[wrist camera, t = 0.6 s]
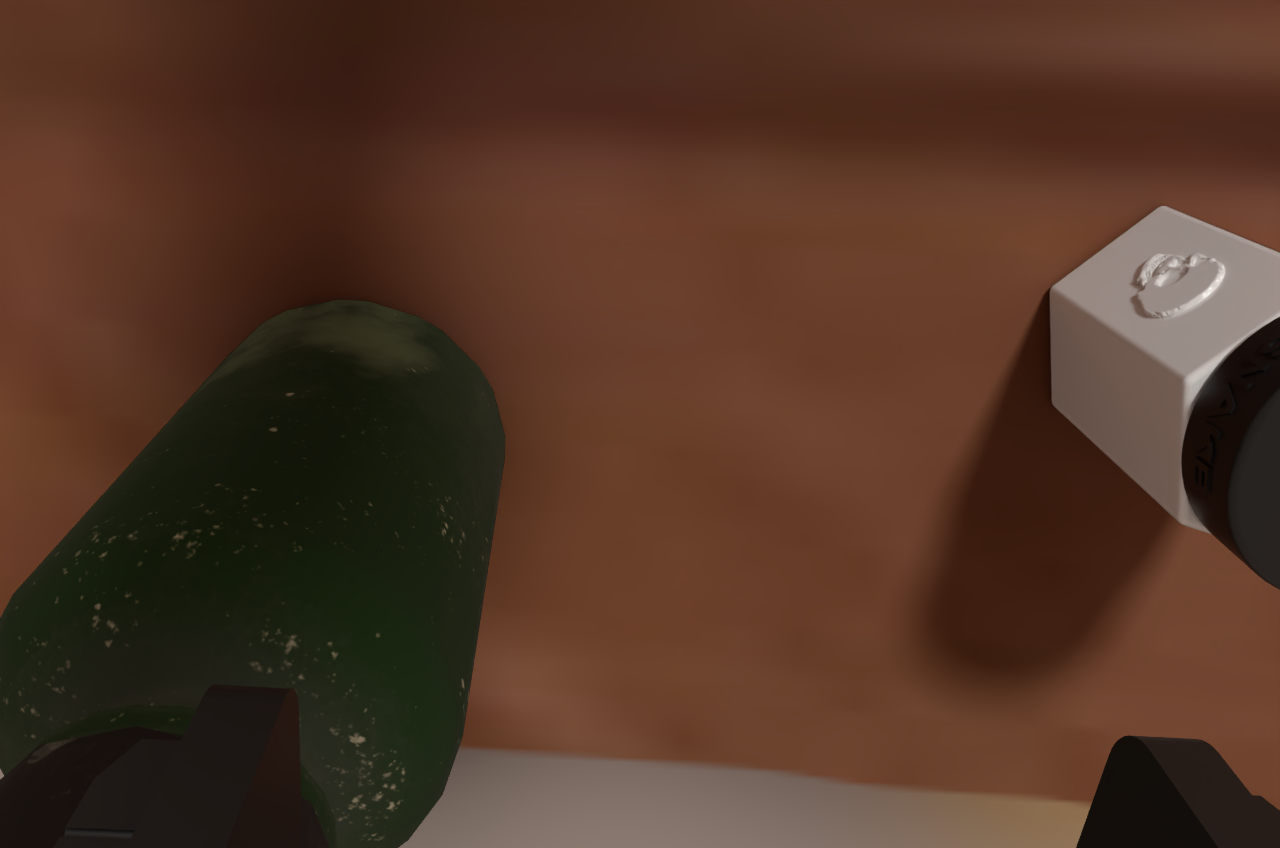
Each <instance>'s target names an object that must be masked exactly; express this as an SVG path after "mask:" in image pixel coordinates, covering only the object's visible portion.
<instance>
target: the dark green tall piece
mask: <svg viewBox="0 0 1280 848" xmlns="http://www.w3.org/2000/svg"><path fill="white" fill-rule="evenodd" d="M504 460H505V433H504V429H503V426H502V422H501V418H500V415H499V411H498V407H497V403H496V400H495V396H494V392H493V389H492V388H491V386H490V384H489V382H488V381H487V379H486V377H485V376H484V374H483V372H482V371H481V369H480V367H479V366H478V365H477V364H476V363H475V362H474V361H473V360H472V359H470V358H469V357H468V356H467V355H466V354H465V353H464V352H463V351H462V350H461V349H460V348H459V347H458V346H457V345H456V344H455V343H454V342H453V341H452V340H451V339H450V338H449V337H448V336H447V335H446V334H445V333H444V332H443V331H442V330H440V329H438V328H437V327H435V326H433V325H432V324H430V323H428V322H427V321H425V320H423V319H422V318H420V317H418V316H414V315H411V314H408V313H404V312H401V311H398V310H395V309H391V308H388V307H385V306H381V305H378V304H375V303H372V302H368V301H356V300H334V301H330V302H325V303H320V304H315V305H310V306H305V307H300V308H295V309H290V310H286V311H284V312H282V313H280V314H278V315H277V316H275V317H273V318H271V319H269V320H267V321H265V322H263V323H262V324H261V325H260V326H259V327H258V328H257V329H256V330H255V331H254V332H252V333H251V334H250V335H249V336H248V337H247V338H246V339H245V340H244V341H243V342H242V343H241V344H240V345H239V346H238V347H237V348H236V349H234V350H233V351H232V352H231V353H230V354H229V355H228V356H227V357H226V358H225V360H224V361H223V362H222V363H221V364H220V365H219V366H218V367H217V368H216V370H215V371H214V372H213V373H212V374H211V375H210V376H209V377H208V378H207V379H206V381H205V382H204V383H203V384H202V385H201V386H200V387H199V388H198V389H197V391H196V392H195V393H194V394H193V395H192V396H191V397H190V398H189V399H188V401H187V402H186V403H185V404H184V405H183V406H182V407H181V408H180V409H179V411H178V412H177V413H176V414H175V415H174V416H173V417H172V418H171V419H170V421H169V422H168V423H167V424H166V425H165V426H164V427H163V428H162V429H161V431H160V432H159V433H158V434H157V435H156V436H155V437H154V438H153V439H152V441H151V442H150V443H149V444H148V445H147V446H146V447H145V448H144V449H143V451H142V452H141V453H140V454H139V455H138V456H137V457H136V458H135V459H134V461H133V462H132V463H131V464H130V465H129V466H128V467H127V468H126V469H125V471H124V472H123V473H122V474H121V475H120V476H119V477H118V478H117V479H116V481H115V482H114V483H113V484H112V485H111V486H110V487H109V488H108V489H107V491H106V492H105V493H104V494H103V495H102V496H101V497H100V498H99V499H98V501H97V502H96V503H95V504H94V505H93V506H92V507H91V508H90V509H89V511H88V512H87V513H86V514H85V515H84V516H83V517H82V518H81V519H80V521H79V522H78V523H77V524H76V525H75V526H74V527H73V528H72V529H71V530H70V532H69V533H68V534H67V535H66V536H65V537H64V538H63V539H62V540H61V542H60V543H59V544H58V545H57V546H56V547H55V548H54V549H53V550H52V552H51V553H50V554H49V555H48V556H47V557H46V558H45V559H44V560H43V562H42V563H41V564H40V565H39V566H38V567H37V568H36V569H35V570H34V572H33V573H32V574H31V575H30V576H29V577H28V578H27V579H26V580H25V582H24V583H23V584H22V585H21V586H20V587H19V588H18V589H17V590H16V592H15V593H14V594H13V595H12V597H11V599H10V601H9V603H8V605H7V607H6V609H5V610H4V612H3V614H2V616H1V618H0V769H1V770H2V772H3V774H4V777H3V778H2V779H1V780H0V848H53V847H54V846H55V844H56V842H57V841H58V839H59V837H64V834H65V827H66V825H67V824H68V822H69V820H70V819H71V817H72V815H73V813H74V812H75V810H76V808H77V807H78V805H79V803H80V801H81V800H82V798H83V796H84V795H85V793H86V791H87V790H88V788H89V786H90V784H91V783H92V781H93V779H94V778H95V777H97V776H98V775H99V774H100V773H101V772H103V771H104V770H105V769H106V768H107V767H109V766H110V765H111V764H112V763H113V762H115V761H116V760H117V759H118V758H119V757H121V756H122V755H123V754H124V753H125V752H127V751H128V750H129V749H130V748H131V747H133V746H134V745H135V744H136V743H137V742H139V741H140V740H141V739H158V740H179V741H181V739H182V737H183V735H184V733H185V731H186V729H187V727H188V725H189V723H190V721H191V719H192V717H193V715H194V713H195V711H196V709H197V707H198V705H199V703H200V701H201V699H202V697H203V696H204V694H205V692H206V691H207V689H208V688H209V687H210V686H212V685H234V686H252V687H271V688H290V689H294V690H295V691H296V693H297V697H298V705H299V736H300V772H301V808H302V818H301V833H300V842H299V848H398V847H400V846H401V845H402V844H403V843H405V842H406V841H408V840H409V838H410V837H411V836H412V834H413V833H414V832H415V830H416V829H417V828H418V826H419V825H420V824H421V823H422V821H423V820H424V819H425V817H426V816H427V815H428V813H429V812H430V811H431V809H432V808H433V806H434V805H435V804H436V803H437V801H438V800H439V799H440V797H441V796H442V794H443V792H444V789H445V786H446V783H447V780H448V777H449V775H450V772H451V769H452V766H453V763H454V760H455V757H456V754H457V751H458V748H459V746H460V743H461V740H462V737H463V731H464V725H465V718H466V711H467V705H468V698H469V692H470V685H471V678H472V672H473V665H474V658H475V652H476V645H477V639H478V632H479V625H480V619H481V612H482V606H483V599H484V592H485V586H486V579H487V572H488V566H489V559H490V553H491V546H492V539H493V533H494V526H495V520H496V513H497V506H498V500H499V493H500V486H501V480H502V473H503V467H504Z"/></svg>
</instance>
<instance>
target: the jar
mask: <svg viewBox="0 0 1280 848" xmlns="http://www.w3.org/2000/svg"><path fill="white" fill-rule="evenodd" d="M1049 295H1050V345H1051V395H1052V404H1053V406H1054V407H1055V408H1056V409H1057V410H1058V411H1059V412H1060V413H1061V414H1062V415H1064V416H1065V417H1066V418H1067V419H1068V420H1069V421H1070V422H1071V423H1072V424H1073V425H1074V426H1075V427H1076V428H1078V429H1079V430H1080V431H1081V432H1082V433H1083V434H1084V435H1085V436H1086V437H1087V438H1088V439H1089V440H1090V441H1092V442H1093V443H1094V444H1095V445H1096V446H1097V447H1098V448H1099V449H1100V450H1101V451H1102V452H1103V453H1105V454H1106V455H1107V456H1108V457H1109V458H1110V459H1111V460H1112V461H1113V462H1114V463H1115V464H1116V465H1117V466H1119V467H1120V468H1121V469H1122V470H1123V471H1124V472H1125V473H1126V474H1127V475H1128V476H1129V477H1130V478H1131V479H1133V480H1134V481H1135V482H1136V483H1137V484H1138V485H1139V486H1140V487H1141V488H1142V489H1143V490H1144V491H1145V492H1147V493H1148V494H1149V495H1150V496H1151V497H1152V498H1153V499H1154V500H1155V501H1156V502H1157V503H1158V504H1159V505H1161V506H1162V507H1163V508H1164V509H1165V510H1166V511H1167V512H1168V513H1169V514H1170V515H1171V516H1172V517H1173V518H1175V519H1176V520H1177V521H1178V522H1179V523H1180V524H1182V525H1185V526H1188V527H1191V528H1194V529H1197V530H1200V531H1203V532H1206V533H1209V534H1212V535H1214V536H1215V537H1216V538H1217V539H1218V540H1219V541H1220V542H1221V543H1222V544H1224V545H1225V546H1226V547H1227V548H1228V549H1229V550H1230V551H1231V552H1233V553H1234V554H1235V555H1236V556H1237V557H1238V558H1239V559H1240V560H1241V561H1243V562H1244V563H1245V564H1246V565H1247V566H1248V567H1249V568H1250V569H1251V570H1253V571H1254V572H1255V573H1256V574H1257V575H1258V576H1259V577H1261V578H1262V579H1263V580H1265V581H1266V582H1268V583H1269V584H1271V585H1272V586H1274V587H1276V588H1278V589H1280V251H1278V250H1276V249H1273V248H1271V247H1268V246H1266V245H1263V244H1261V243H1258V242H1256V241H1253V240H1251V239H1248V238H1245V237H1243V236H1240V235H1238V234H1235V233H1233V232H1230V231H1228V230H1225V229H1223V228H1220V227H1218V226H1215V225H1213V224H1210V223H1208V222H1205V221H1202V220H1200V219H1197V218H1195V217H1192V216H1190V215H1187V214H1185V213H1182V212H1180V211H1177V210H1175V209H1172V208H1170V207H1167V206H1161V207H1158V208H1157V209H1155V210H1154V211H1153V212H1151V213H1150V214H1149V215H1147V216H1146V217H1145V218H1143V219H1142V220H1141V221H1139V222H1138V223H1137V224H1135V225H1134V226H1133V227H1131V228H1130V229H1129V230H1127V231H1126V232H1124V233H1123V234H1122V235H1120V236H1119V237H1118V238H1116V239H1115V240H1114V241H1112V242H1111V243H1110V244H1108V245H1107V246H1106V247H1104V248H1103V249H1102V250H1100V251H1099V252H1098V253H1096V254H1095V255H1094V256H1092V257H1091V258H1090V259H1088V260H1087V261H1085V262H1084V263H1083V264H1081V265H1080V266H1079V267H1077V268H1076V269H1075V270H1073V271H1072V272H1071V273H1069V274H1068V275H1067V276H1065V277H1064V278H1063V279H1061V280H1060V281H1059V282H1057V283H1056V284H1055V285H1053V286H1052V287H1051V289H1050V293H1049Z"/></svg>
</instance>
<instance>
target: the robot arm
mask: <svg viewBox="0 0 1280 848" xmlns="http://www.w3.org/2000/svg"><path fill="white" fill-rule="evenodd" d="M301 818H302V808H301V772H300V736H299V705H298V697H297V693H296V691H295V690H294V689H290V688H271V687H252V686H234V685H212V686H210V687H209V688H208V689H207V691H206V692H205V694H204V696H203V697H202V699H201V701H200V703H199V705H198V707H197V709H196V711H195V713H194V715H193V717H192V719H191V721H190V723H189V725H188V727H187V729H186V731H185V733H184V735H183V737H182V739H181V741H179V740H158V739H141V740H140V741H139V742H137V743H136V744H135V745H134V746H133V747H131V748H130V749H129V750H128V751H127V752H125V753H124V754H123V755H122V756H121V757H119V758H118V759H117V760H116V761H115V762H113V763H112V764H111V765H110V766H109V767H107V768H106V769H105V770H104V771H103V772H101V773H100V774H99V775H98V776H97V777H95V778H94V779H93V781H92V783H91V784H90V786H89V788H88V790H87V791H86V793H85V795H84V796H83V798H82V800H81V801H80V803H79V805H78V807H77V808H76V810H75V812H74V813H73V815H72V817H71V819H70V820H69V822H68V824H67V825H66V827H65V834H64V837H59V839H58V841H57V842H56V844H55V846H54V847H53V848H299V842H300V833H301ZM1076 848H1280V811H1279V810H1278V809H1277V808H1276V807H1274V806H1273V805H1272V804H1270V803H1269V802H1268V801H1266V800H1265V799H1264V798H1263V797H1261V796H1253V795H1251V794H1250V792H1249V791H1248V790H1247V788H1246V787H1245V786H1244V785H1243V783H1242V782H1241V781H1240V780H1239V778H1238V777H1237V776H1236V774H1235V773H1234V772H1233V771H1232V769H1231V768H1230V767H1229V766H1228V764H1227V763H1226V762H1225V761H1224V759H1223V758H1222V757H1221V755H1220V754H1219V753H1218V752H1217V751H1216V750H1215V749H1214V747H1212V746H1211V745H1210V744H1209V743H1207V742H1205V741H1203V740H1198V739H1183V738H1164V737H1145V736H1124V737H1122V738H1120V739H1119V740H1118V741H1117V742H1116V743H1115V744H1114V746H1113V747H1112V750H1111V752H1110V754H1109V757H1108V760H1107V762H1106V765H1105V768H1104V771H1103V774H1102V777H1101V779H1100V782H1099V785H1098V788H1097V791H1096V793H1095V796H1094V799H1093V802H1092V805H1091V807H1090V810H1089V813H1088V816H1087V819H1086V822H1085V824H1084V827H1083V830H1082V833H1081V836H1080V838H1079V841H1078V844H1077V847H1076Z"/></svg>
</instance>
